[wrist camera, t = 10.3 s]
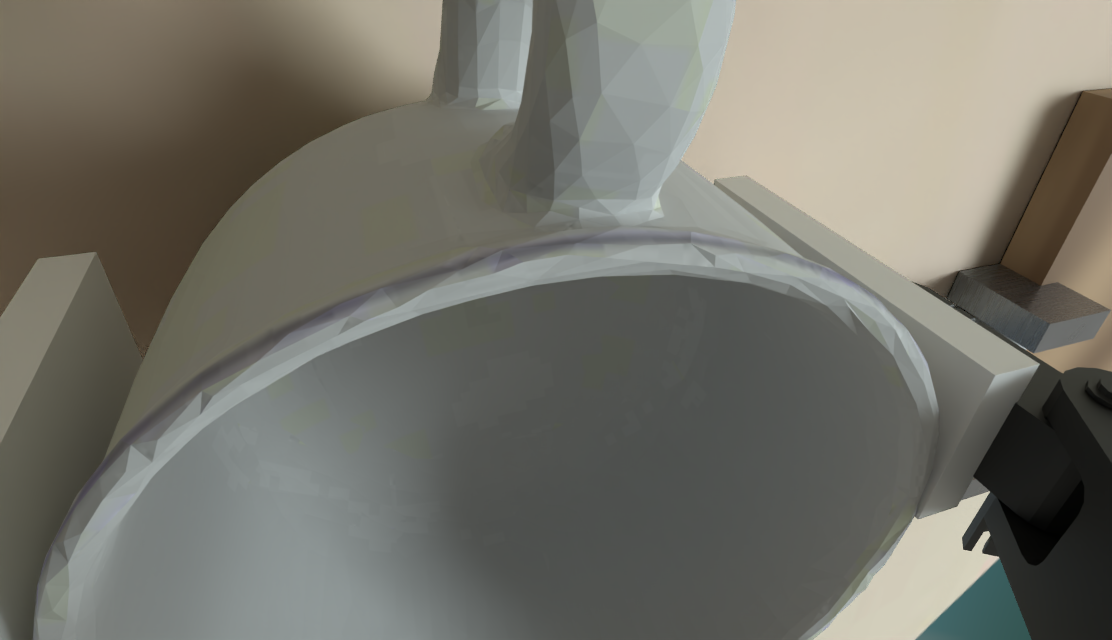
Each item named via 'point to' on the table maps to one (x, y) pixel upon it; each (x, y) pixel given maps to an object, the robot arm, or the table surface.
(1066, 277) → the board
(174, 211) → the table surface
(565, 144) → the teacup
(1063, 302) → the hinge cheek
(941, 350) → the robot arm
